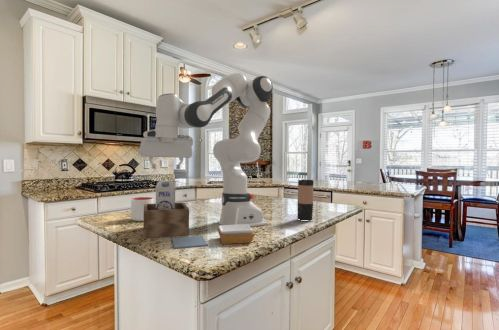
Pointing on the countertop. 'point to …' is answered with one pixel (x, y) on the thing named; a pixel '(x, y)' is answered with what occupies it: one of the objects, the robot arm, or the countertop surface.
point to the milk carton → (165, 195)
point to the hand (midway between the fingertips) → (166, 168)
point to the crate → (165, 221)
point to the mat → (189, 242)
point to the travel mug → (305, 199)
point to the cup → (139, 207)
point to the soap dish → (235, 234)
